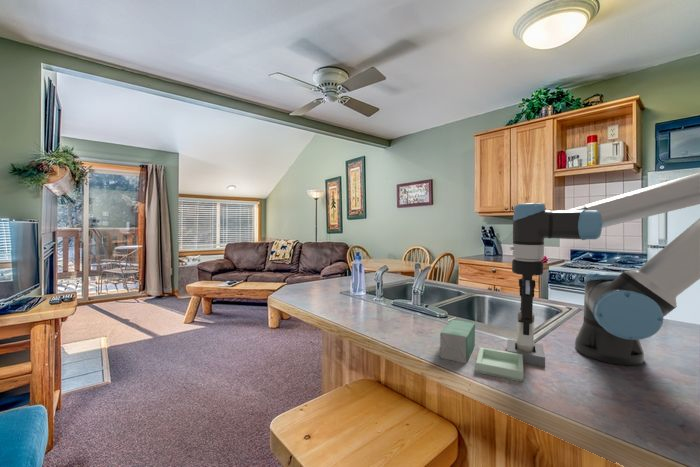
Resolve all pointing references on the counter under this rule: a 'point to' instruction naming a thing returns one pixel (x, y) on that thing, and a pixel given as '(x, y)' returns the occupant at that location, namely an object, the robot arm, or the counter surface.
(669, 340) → the counter surface
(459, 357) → the box
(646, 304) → the robot arm
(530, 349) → the block
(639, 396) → the counter surface
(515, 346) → the holder
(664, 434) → the counter surface
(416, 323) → the counter surface
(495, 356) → the tray
